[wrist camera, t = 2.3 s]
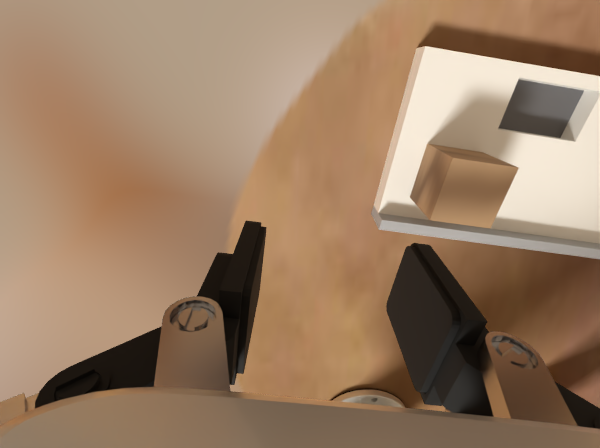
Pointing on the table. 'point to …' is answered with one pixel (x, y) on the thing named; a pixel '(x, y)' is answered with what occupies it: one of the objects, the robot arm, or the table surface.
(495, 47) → the table surface
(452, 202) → the walnut block
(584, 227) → the trap board
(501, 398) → the robot arm
